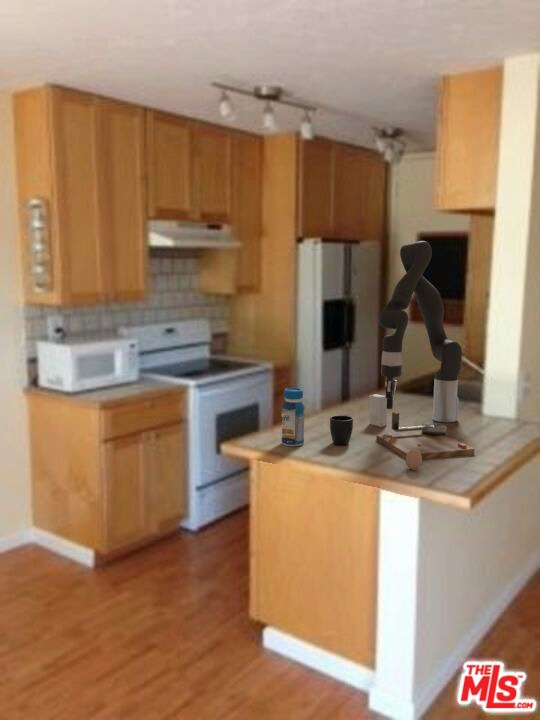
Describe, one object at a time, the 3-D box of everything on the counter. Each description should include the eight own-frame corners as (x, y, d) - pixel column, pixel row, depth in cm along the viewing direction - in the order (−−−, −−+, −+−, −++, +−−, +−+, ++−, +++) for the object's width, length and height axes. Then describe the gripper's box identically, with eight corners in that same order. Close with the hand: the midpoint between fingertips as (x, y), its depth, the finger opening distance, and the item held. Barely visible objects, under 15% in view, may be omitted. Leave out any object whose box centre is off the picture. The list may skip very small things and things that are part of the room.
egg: (406, 466, 218) (406, 446, 217) (422, 468, 216) (423, 447, 215) (404, 471, 213) (405, 450, 212) (421, 473, 211) (422, 452, 210)
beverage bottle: (306, 446, 239) (307, 391, 236) (283, 447, 238) (283, 392, 235) (301, 439, 248) (302, 386, 244) (279, 440, 246) (279, 387, 243)
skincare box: (387, 425, 268) (388, 395, 266) (379, 427, 266) (380, 397, 264) (375, 422, 273) (376, 393, 271) (368, 424, 270) (369, 394, 268)
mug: (357, 439, 249) (358, 414, 247) (348, 447, 238) (349, 421, 236) (336, 436, 252) (336, 412, 250) (326, 445, 241) (327, 419, 239)
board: (436, 435, 255) (437, 427, 254) (474, 454, 231) (474, 446, 230) (376, 440, 248) (376, 432, 247) (408, 460, 224) (408, 451, 223)
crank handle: (438, 428, 256) (439, 406, 255) (451, 434, 247) (452, 412, 246) (386, 432, 250) (387, 410, 249) (397, 438, 241) (398, 416, 240)
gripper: (383, 360, 258) (381, 404, 261) (379, 365, 246) (377, 411, 249) (403, 361, 256) (401, 405, 259) (400, 366, 244) (397, 413, 246)
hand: (389, 408), depth 254 cm, fingers closed
